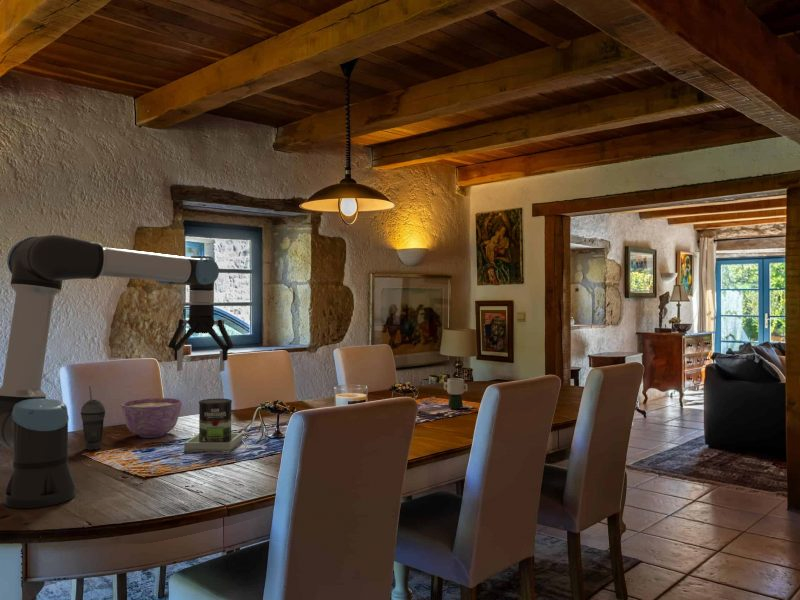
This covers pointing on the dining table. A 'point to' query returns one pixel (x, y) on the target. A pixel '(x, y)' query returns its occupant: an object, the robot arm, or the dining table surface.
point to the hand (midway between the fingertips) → (200, 370)
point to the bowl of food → (151, 416)
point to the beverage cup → (93, 422)
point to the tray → (212, 444)
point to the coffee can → (215, 420)
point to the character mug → (455, 391)
